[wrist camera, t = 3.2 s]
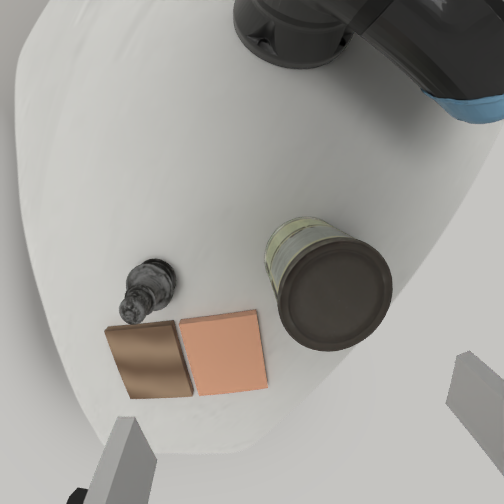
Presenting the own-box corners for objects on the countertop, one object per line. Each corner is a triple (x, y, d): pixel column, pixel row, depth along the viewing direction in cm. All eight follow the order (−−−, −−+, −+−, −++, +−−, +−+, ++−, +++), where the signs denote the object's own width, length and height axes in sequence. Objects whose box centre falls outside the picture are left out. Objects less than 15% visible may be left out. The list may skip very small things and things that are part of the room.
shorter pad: (108, 326, 40) (104, 331, 39) (173, 320, 40) (171, 325, 39) (133, 393, 43) (130, 398, 42) (193, 390, 43) (192, 396, 42)
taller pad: (180, 319, 40) (178, 324, 39) (256, 309, 40) (256, 314, 39) (200, 389, 43) (199, 395, 42) (267, 381, 43) (268, 387, 42)
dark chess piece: (183, 265, 39) (162, 302, 27) (171, 306, 40) (149, 354, 28) (140, 250, 38) (103, 281, 26) (130, 291, 39) (95, 333, 28)
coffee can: (357, 238, 39) (412, 270, 25) (319, 307, 41) (354, 365, 27) (287, 201, 37) (316, 215, 24) (249, 275, 39) (256, 328, 26)
